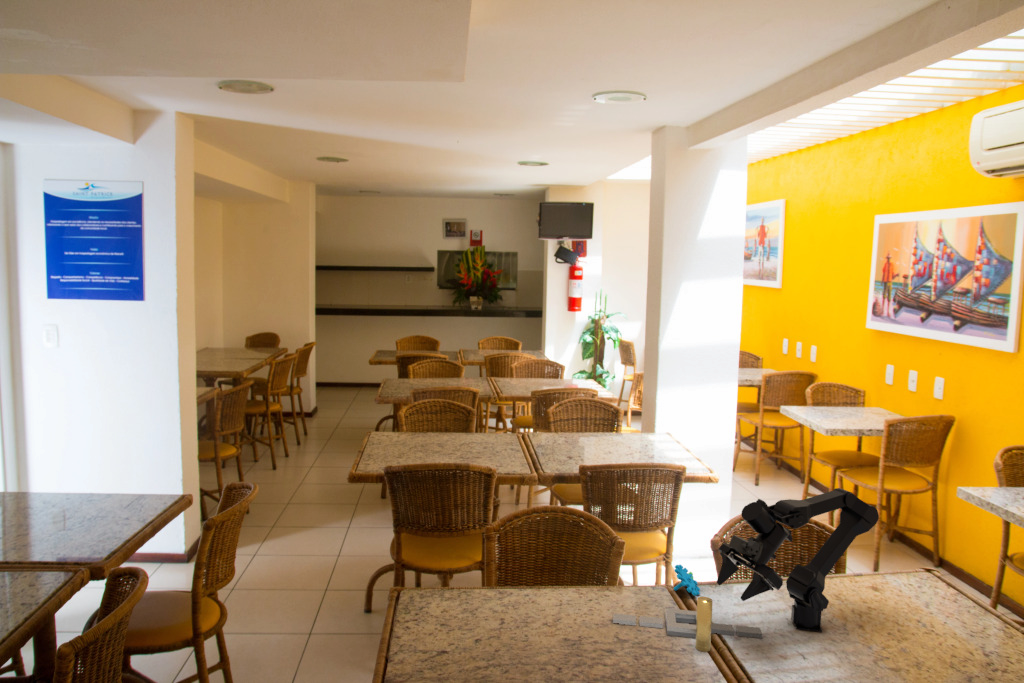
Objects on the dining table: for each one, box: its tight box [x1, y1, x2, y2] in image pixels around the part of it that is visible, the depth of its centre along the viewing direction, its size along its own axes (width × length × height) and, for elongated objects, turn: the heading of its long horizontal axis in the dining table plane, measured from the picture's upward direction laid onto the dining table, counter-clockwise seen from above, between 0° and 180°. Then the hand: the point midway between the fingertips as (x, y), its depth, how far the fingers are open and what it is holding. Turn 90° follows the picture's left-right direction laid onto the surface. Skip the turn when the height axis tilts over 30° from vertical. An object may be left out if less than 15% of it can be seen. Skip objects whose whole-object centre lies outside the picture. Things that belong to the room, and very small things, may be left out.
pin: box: [694, 596, 713, 653], centre depth 174 cm, size 4×4×12 cm
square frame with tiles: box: [612, 608, 763, 639], centre depth 184 cm, size 38×10×2 cm, turn 80°
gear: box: [673, 564, 701, 597], centre depth 206 cm, size 11×6×10 cm
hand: (729, 591), depth 176 cm, fingers open, 9 cm apart
